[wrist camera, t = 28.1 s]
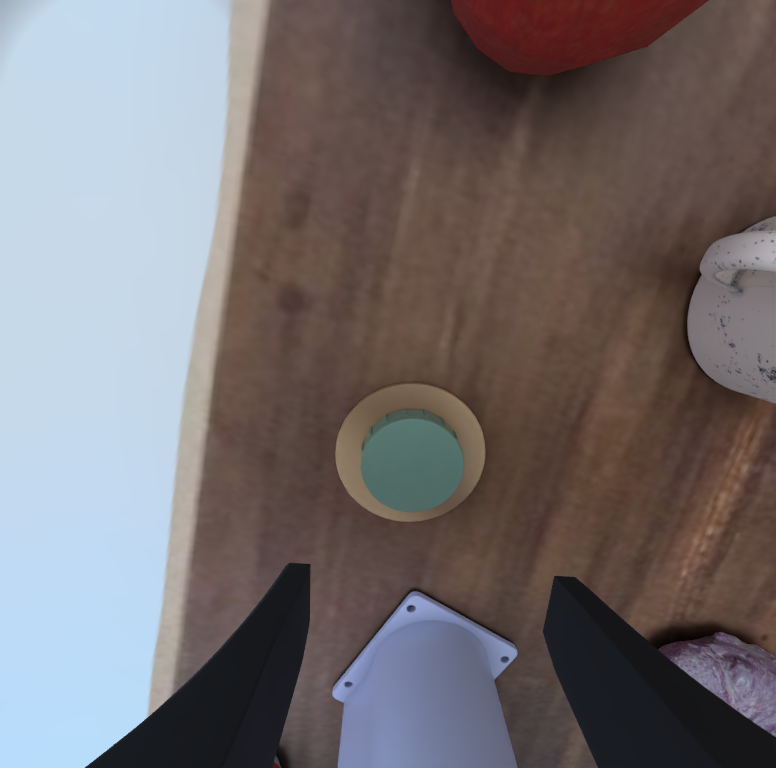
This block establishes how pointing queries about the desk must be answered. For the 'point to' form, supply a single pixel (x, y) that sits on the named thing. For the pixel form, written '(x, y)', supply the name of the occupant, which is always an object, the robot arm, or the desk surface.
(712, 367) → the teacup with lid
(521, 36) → the apple
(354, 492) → the cork coaster
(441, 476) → the lid
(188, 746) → the robot arm
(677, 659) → the fossil
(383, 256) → the desk surface
